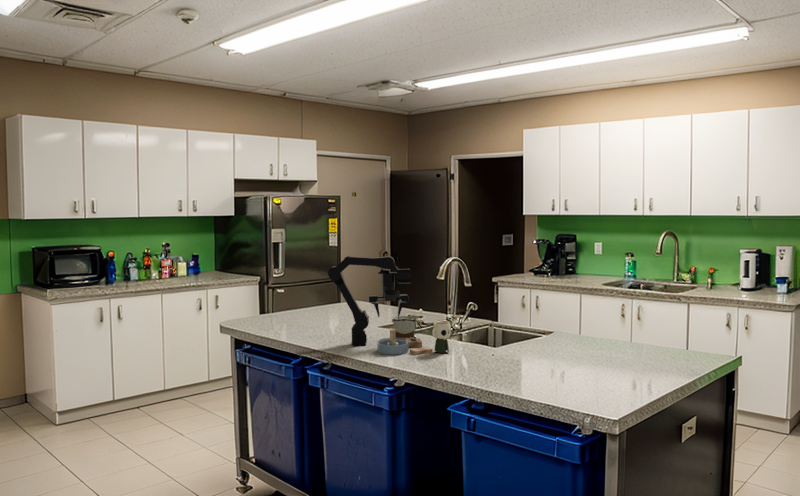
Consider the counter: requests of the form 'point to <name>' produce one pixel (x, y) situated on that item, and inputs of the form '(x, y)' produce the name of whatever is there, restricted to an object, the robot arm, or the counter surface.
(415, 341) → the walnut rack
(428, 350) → the tapered wooden plank
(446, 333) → the character mug
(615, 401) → the counter surface
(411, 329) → the food container
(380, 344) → the blue octagonal bowl
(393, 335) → the bar
